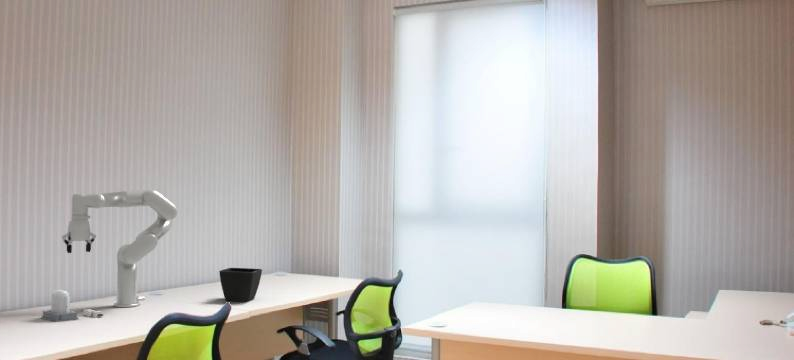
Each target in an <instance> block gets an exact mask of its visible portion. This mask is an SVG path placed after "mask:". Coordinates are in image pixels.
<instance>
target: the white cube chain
mask: <svg viewBox="0 0 794 360" xmlns="http://www.w3.org/2000/svg"><path fill="white" fill-rule="evenodd" d="M83 316H86V317H93V318H100V317H101V318H102V317H104V314H103V312H102V311H101V310H97V311H96V310H94V309H90V308H87V309H83Z"/></svg>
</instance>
